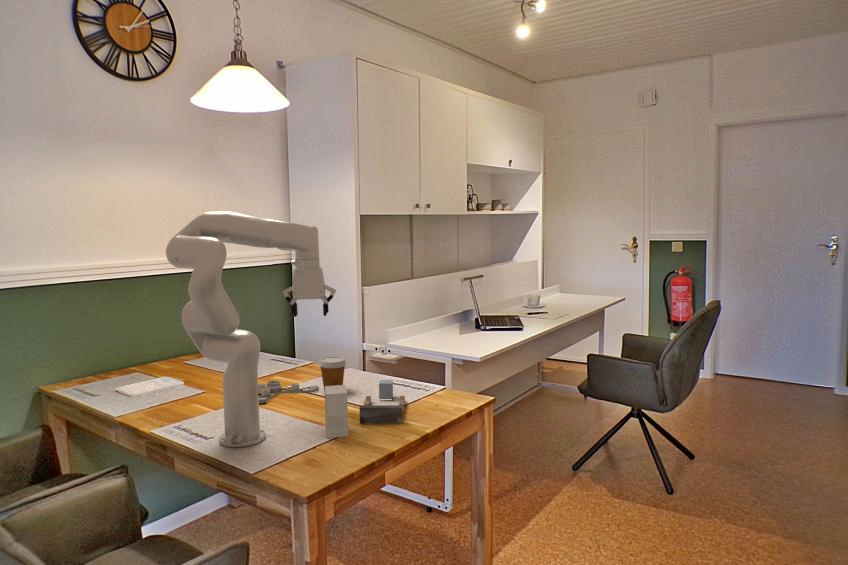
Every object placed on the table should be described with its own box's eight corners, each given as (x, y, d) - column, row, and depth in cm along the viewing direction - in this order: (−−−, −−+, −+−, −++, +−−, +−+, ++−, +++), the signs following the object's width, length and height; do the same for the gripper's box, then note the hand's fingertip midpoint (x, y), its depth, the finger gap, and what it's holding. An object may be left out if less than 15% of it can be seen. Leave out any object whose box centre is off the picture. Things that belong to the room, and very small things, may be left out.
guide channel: (402, 423, 178) (402, 407, 177) (359, 423, 178) (359, 407, 177) (404, 401, 199) (404, 387, 198) (366, 401, 199) (366, 387, 198)
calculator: (114, 392, 213) (114, 387, 213) (167, 379, 228) (167, 375, 228) (131, 399, 205) (131, 394, 204) (185, 386, 220) (185, 381, 220)
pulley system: (234, 399, 205) (253, 407, 194) (233, 386, 204) (253, 393, 193) (302, 387, 223) (324, 393, 212) (302, 374, 223) (323, 380, 212)
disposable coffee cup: (350, 389, 213) (350, 357, 211) (340, 397, 204) (339, 363, 202) (326, 387, 215) (326, 355, 214) (315, 395, 206) (314, 361, 205)
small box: (325, 428, 174) (324, 385, 173) (346, 426, 175) (345, 384, 174) (326, 438, 166) (325, 394, 165) (348, 436, 167) (347, 392, 166)
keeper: (392, 400, 200) (392, 383, 199) (379, 400, 200) (378, 383, 199) (393, 396, 204) (392, 379, 204) (380, 396, 204) (379, 379, 204)
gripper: (278, 265, 185) (281, 318, 187) (333, 264, 185) (335, 317, 188) (283, 263, 192) (286, 314, 195) (335, 261, 193) (338, 312, 195)
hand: (310, 315), depth 191 cm, fingers open, 9 cm apart
